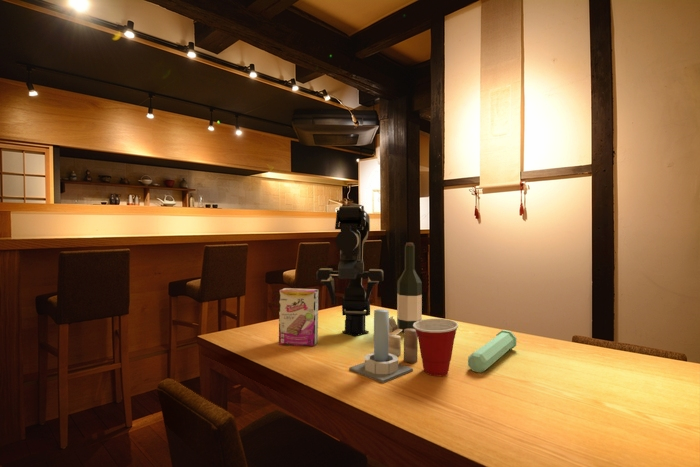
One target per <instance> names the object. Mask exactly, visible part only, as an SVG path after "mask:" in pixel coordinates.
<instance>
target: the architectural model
mask: <svg viewBox="0 0 700 467" xmlns="http://www.w3.org/2000/svg"><path fill="white" fill-rule="evenodd" d="M401 331H402V329H398V325H397V321H396V320H395V318H394V316H392V315H391V316H389V335H398V336H399V334H400V333H402V332H401Z"/></svg>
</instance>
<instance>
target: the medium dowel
mask: <svg viewBox="0 0 700 467" xmlns="http://www.w3.org/2000/svg"><path fill="white" fill-rule="evenodd" d="M418 346H419V340H418V337H417V333H416V330H415V329H404V333H403V361H404V362H405V363H409V364H414V363H417V362H418V351H419V350H418V348H419V347H418Z"/></svg>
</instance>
